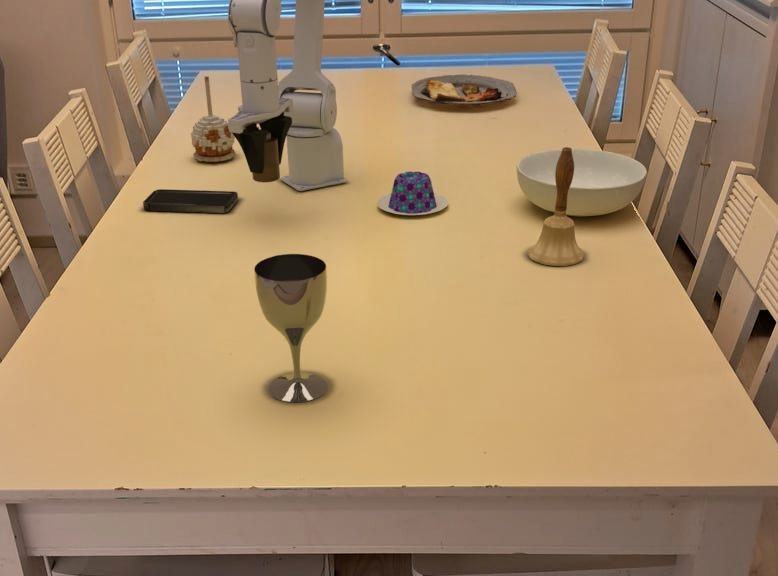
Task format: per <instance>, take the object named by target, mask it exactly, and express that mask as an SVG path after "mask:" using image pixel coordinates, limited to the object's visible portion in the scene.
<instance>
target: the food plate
mask: <svg viewBox="0 0 778 576" xmlns="http://www.w3.org/2000/svg"><path fill="white" fill-rule="evenodd" d="M411 93H412V95H413V97H414V98H416V99H417V100H421V101H426V102H429V103H434V104H442V105H460V106H467V107H470V106H471V107H472V106H473V107H479V106H481V105H487V104H493V103H503V102H506V101H510V100H512V99H513V98H516V97H517V95H518V92H517V90H516V87H515V85H514V82H512V81H509V80H505V79H500V78H496V77H492V76H485V75H475V74H467V73H466V74H465V73H464V74H445V75H437V76H429V77H426V78H425V77H424V78H421V79H419V80H416V81H415V82H413V83H411Z"/></svg>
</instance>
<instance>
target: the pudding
mask: <svg viewBox="0 0 778 576" xmlns="http://www.w3.org/2000/svg"><path fill="white" fill-rule="evenodd" d="M376 205H377V207H378V208H379V209H380V210H383V211H384V212H387V213H391V214H396V215H402V216H403V215H404V216H422V215H428V214H429V215H430V214H432V213H437V212H441V211H442V210H444V209H445V208H447V207H448V205H449V200H448V199H447V198H446V196H443V195H441V194H438V193H435V192H434V188H433V183H432V179H431V177H430V175H429V174H428V173H426V172H421V171H404V172H400V173H398V174H397V175H396V176H395V178H394V180H393V185H392V190H391V192H390V193H388V194H385V195H383V196H381V197H380V198H378V199H377V201H376Z"/></svg>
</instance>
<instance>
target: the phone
mask: <svg viewBox="0 0 778 576" xmlns="http://www.w3.org/2000/svg"><path fill="white" fill-rule="evenodd" d="M238 193H239V192H237V191H232V190H231V191H230V190H228V191H227V190H226V191H225V190H201V189H200V190H198V189H197V190H196V189H166V188H165V189H163V188H162V189H161V188H159V189H155V190H153V191H152V192H151V193H150V194H149V195H148V196H147V197H146V199H145V200H143V201H142V206H143V210H144V211H148V212H149V211H150V212H153V211H154V212H177V213H179V212H180V213H181V212H182V213H209V214H225V213H229V212H230V211H231V210H232V208H234V206H235V205H236V203H237V202H238V201H239V194H238Z"/></svg>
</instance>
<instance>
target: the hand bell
mask: <svg viewBox="0 0 778 576" xmlns="http://www.w3.org/2000/svg"><path fill="white" fill-rule="evenodd" d="M561 149H562V152H561V155H560V157H559V159H558V162H557V165H556V172H555V180H556V186H557V198H556V206H555V211H554V212H553V215H551V216H548V217H547V218H545V219H544V221H543V226H542V228H541V232H540V235H539V237H538V240H537V241H536V243H534V244H533V245H532V246H531V247H530V248H529V250H528V251H527V256H528V258H529V259H530V260H531V261H533V262H536V263H538V264H541V265H546V266H552V267H565V266H566V267H568V266H573V265H577V264H579V263H580V262H582V261H583V260H584V258H585V254H584V252H583V250H582V249H581V248H580V247H579V245H578V243H577V240H576V233H575V231H576V230H575V221H574V220H573V219H572V218H570V217H569V216H568V215H566V210H567V196H568V190H569V188H570V185H571V183H572V179H573V174H574V160H573V156H572V149H573V148H572V147H568V146H566V147H562V148H561Z"/></svg>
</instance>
